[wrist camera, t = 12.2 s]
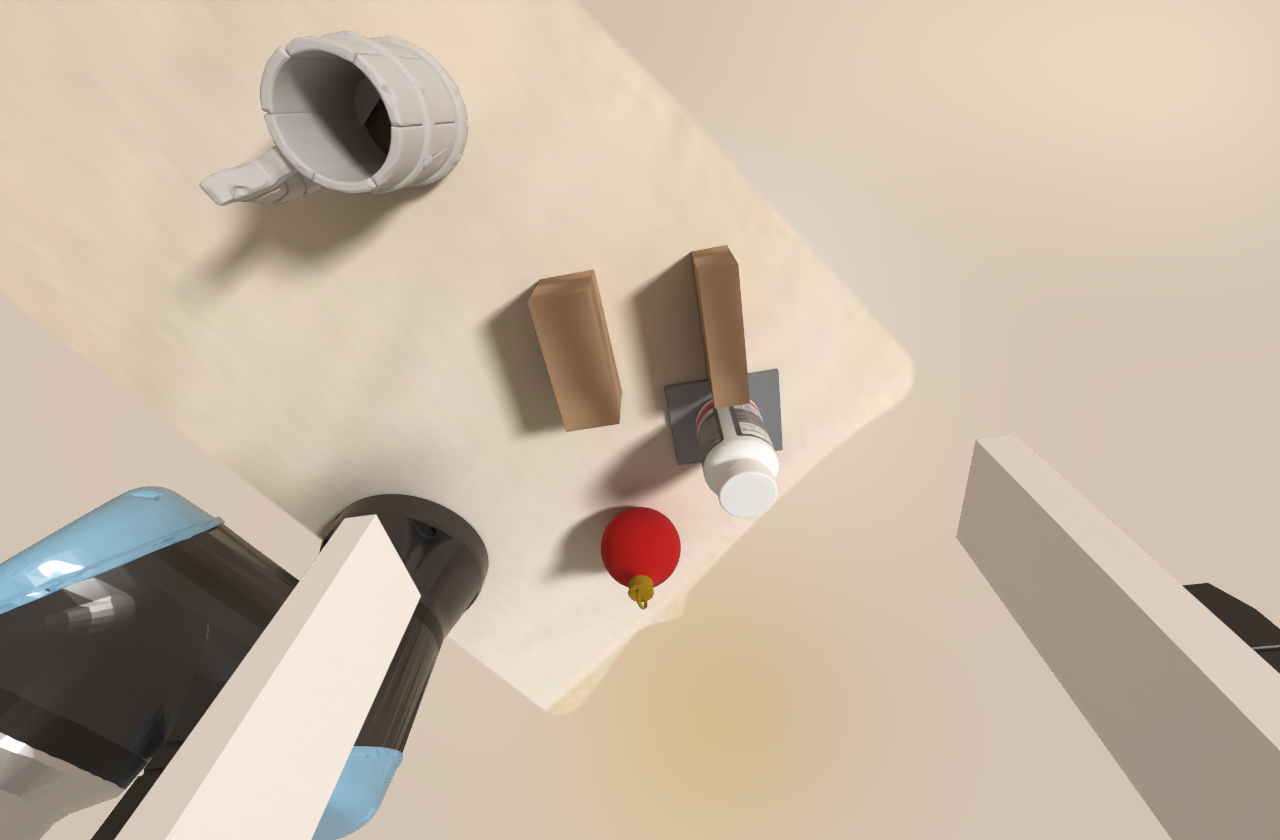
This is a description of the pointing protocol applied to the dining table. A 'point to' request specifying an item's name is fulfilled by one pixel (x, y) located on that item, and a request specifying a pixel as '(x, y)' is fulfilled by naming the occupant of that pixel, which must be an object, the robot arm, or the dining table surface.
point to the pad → (696, 394)
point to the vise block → (584, 348)
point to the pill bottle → (738, 458)
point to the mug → (349, 121)
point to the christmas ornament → (640, 551)
